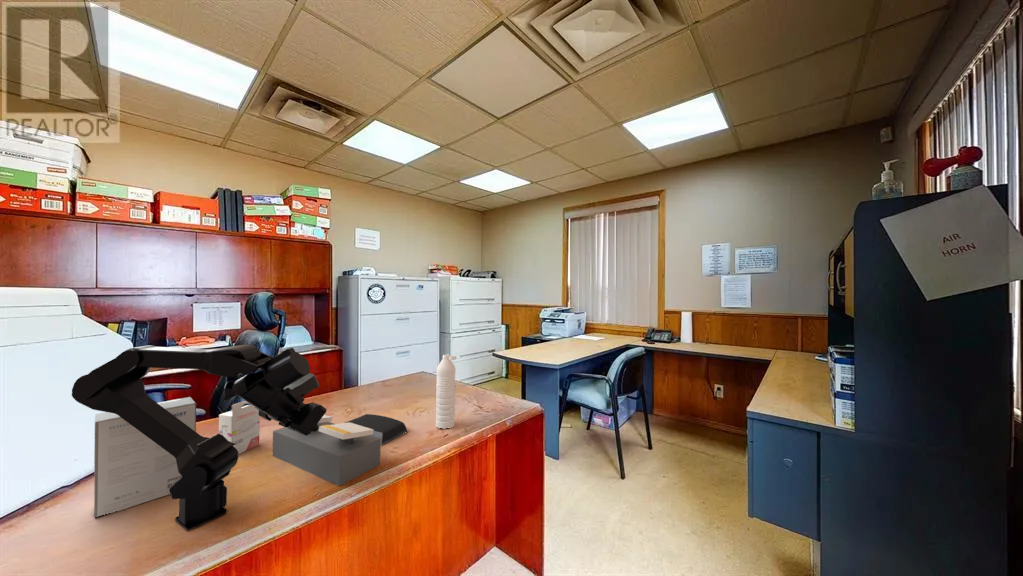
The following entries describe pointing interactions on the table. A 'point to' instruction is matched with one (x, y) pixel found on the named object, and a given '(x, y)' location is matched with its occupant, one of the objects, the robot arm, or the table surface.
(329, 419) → the rocker grey
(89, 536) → the table surface
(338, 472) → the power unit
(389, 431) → the external hard drive
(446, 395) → the water bottle
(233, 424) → the ink cartridge box
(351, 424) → the rocker amber
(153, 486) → the hard drive box
